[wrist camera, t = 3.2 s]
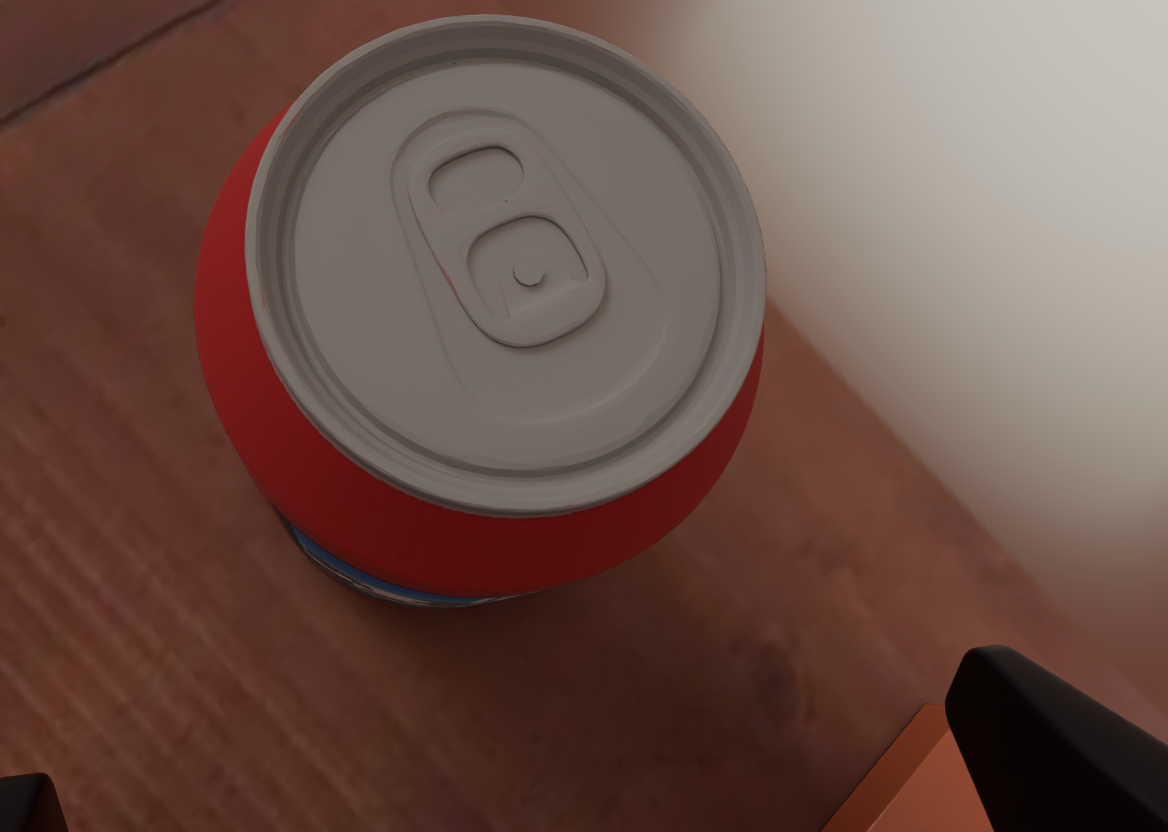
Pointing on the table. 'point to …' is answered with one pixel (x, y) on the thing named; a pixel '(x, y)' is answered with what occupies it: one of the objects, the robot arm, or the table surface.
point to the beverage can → (482, 311)
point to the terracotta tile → (916, 785)
